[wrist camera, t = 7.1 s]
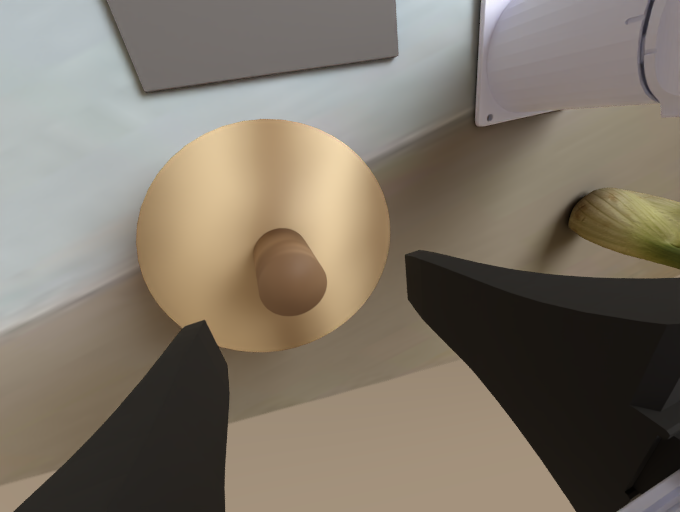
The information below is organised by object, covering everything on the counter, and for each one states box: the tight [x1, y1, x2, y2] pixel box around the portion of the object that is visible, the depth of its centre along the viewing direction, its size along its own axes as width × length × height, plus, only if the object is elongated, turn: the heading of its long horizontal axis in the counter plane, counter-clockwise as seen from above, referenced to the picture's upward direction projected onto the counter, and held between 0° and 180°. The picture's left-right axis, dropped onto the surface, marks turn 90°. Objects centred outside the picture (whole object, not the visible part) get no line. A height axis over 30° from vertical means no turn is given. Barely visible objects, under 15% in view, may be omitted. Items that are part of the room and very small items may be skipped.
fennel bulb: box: [568, 188, 680, 269], centre depth 23 cm, size 6×5×12 cm
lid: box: [136, 119, 390, 352], centre depth 13 cm, size 13×13×4 cm
